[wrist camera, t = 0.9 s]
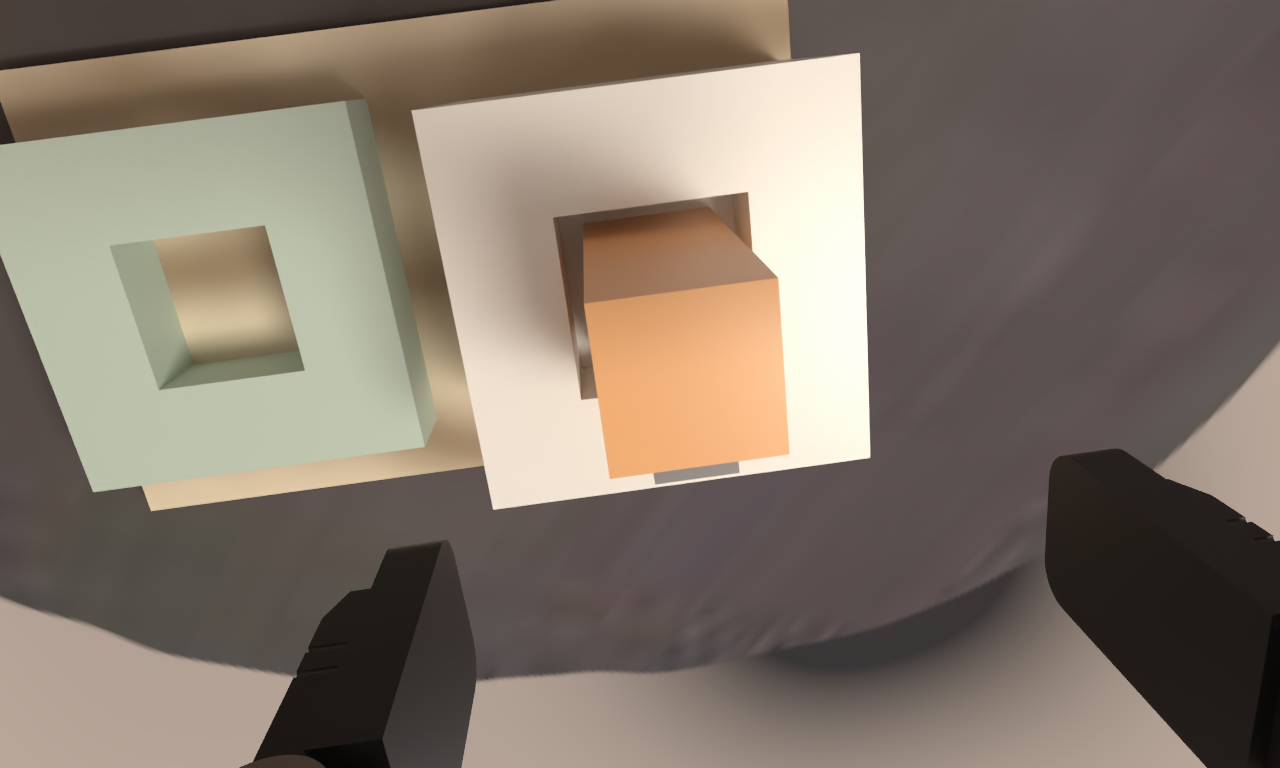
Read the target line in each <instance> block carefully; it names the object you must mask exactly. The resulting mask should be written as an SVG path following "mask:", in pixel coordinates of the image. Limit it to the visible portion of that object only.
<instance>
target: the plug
mask: <svg viewBox="0 0 1280 768" xmlns="http://www.w3.org/2000/svg"><path fill="white" fill-rule="evenodd" d="M583 256H584V309H585V315H586V322H587V329H588V336H589V342H590V349H591V356H592V363H593V369H594V376H595V383H596V390H597V396H598V403H599V410H600V417H601V423H602V430H603V437H604V444H605V450H606V457H607V464H608V471H609V477H610V479H614V478H621V477H629V476H636V475H643V474H651V473H653V475H654V480H655V484H663V483H670V482H677V481H684V480H692V479H699V478H706V477H713V476H721V475H728V474H735V473H740V472H739V461H745V460H752V459H760V458H767V457H774V456H781V455H789V438H788V422H787V407H786V391H785V375H784V359H783V343H782V328H781V312H780V296H779V280H778V277H777V276H776V275H775V274H774V273H773V272H772V271H771V270H770V269H769V268H768V267H767V266H766V265H765V264H764V263H763V262H762V261H761V260H760V259H759V258H758V256H757V255H756V254H755V253H754V252H753V251H752V250H751V249H750V248H749V247H748V246H747V245H746V244H745V243H744V242H743V241H742V240H741V239H740V238H739V237H738V236H737V235H736V234H735V233H734V232H733V231H732V230H731V229H730V228H729V227H728V226H727V225H726V224H725V223H724V222H723V221H722V220H721V219H720V218H719V217H718V216H717V215H716V214H715V213H714V212H713V211H712V209H711V208H710V207H704V208H696V209H689V210H681V211H674V212H666V213H658V214H651V215H643V216H636V217H628V218H620V219H613V220H605V221H598V222H590V223H583Z"/></svg>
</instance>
